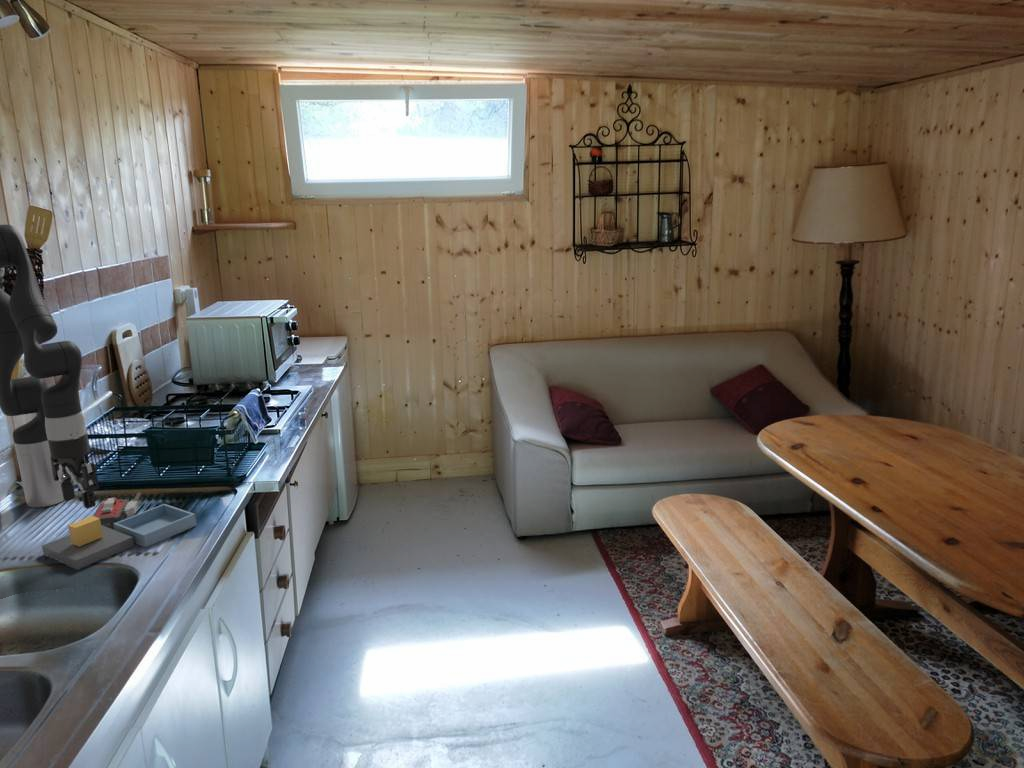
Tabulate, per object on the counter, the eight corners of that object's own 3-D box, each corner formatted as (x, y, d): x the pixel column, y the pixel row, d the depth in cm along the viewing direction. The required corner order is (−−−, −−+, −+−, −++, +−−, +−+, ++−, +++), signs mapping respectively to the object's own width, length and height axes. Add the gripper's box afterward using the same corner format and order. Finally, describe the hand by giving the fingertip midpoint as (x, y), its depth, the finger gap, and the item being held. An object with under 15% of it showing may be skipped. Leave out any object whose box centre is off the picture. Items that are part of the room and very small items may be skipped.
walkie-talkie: (129, 529, 188) (144, 497, 206) (126, 512, 187) (142, 481, 205) (89, 534, 186) (108, 501, 204) (85, 516, 184) (105, 485, 203)
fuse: (73, 553, 175) (67, 525, 173) (97, 543, 180) (92, 515, 178) (80, 557, 173) (75, 528, 172) (104, 546, 178) (99, 518, 176)
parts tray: (115, 535, 184) (113, 523, 183) (166, 514, 194) (164, 503, 193) (145, 547, 177) (143, 535, 176) (196, 525, 188) (194, 513, 187)
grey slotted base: (43, 554, 175) (41, 545, 174) (100, 532, 185) (98, 523, 185) (77, 570, 168) (75, 560, 167) (134, 545, 178) (132, 537, 177)
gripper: (32, 433, 170) (46, 503, 174) (66, 443, 162) (80, 516, 166) (67, 424, 176) (79, 491, 180) (102, 433, 168) (114, 503, 172)
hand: (79, 503), depth 173 cm, fingers open, 8 cm apart
